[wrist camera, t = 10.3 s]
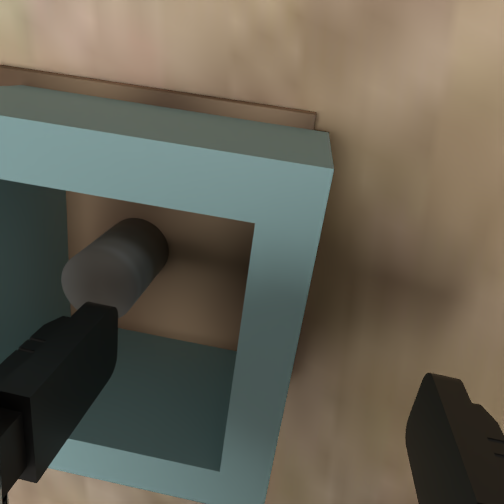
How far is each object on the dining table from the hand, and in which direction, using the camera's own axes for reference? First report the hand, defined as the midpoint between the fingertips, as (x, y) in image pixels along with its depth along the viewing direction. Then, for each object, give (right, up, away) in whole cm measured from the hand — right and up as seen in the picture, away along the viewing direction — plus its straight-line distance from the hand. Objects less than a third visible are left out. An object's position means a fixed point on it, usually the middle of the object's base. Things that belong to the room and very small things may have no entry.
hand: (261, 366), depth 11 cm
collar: (-4, +3, +6) cm, 8 cm away
